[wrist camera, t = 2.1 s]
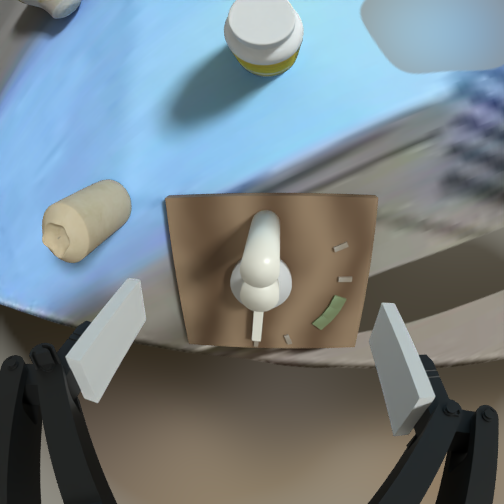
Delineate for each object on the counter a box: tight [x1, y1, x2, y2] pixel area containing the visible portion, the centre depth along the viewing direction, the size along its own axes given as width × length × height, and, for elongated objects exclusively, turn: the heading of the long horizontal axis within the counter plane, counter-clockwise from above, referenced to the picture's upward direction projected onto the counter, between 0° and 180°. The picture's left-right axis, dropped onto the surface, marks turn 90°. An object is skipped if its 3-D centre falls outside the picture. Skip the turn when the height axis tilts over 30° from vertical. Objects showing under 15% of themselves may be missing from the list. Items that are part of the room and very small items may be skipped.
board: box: [165, 193, 378, 348], centre depth 32 cm, size 20×18×1 cm
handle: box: [230, 210, 292, 341], centre depth 27 cm, size 15×6×9 cm, turn 177°
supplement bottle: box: [224, 0, 303, 77], centre depth 18 cm, size 5×5×10 cm
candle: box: [42, 180, 131, 263], centre depth 26 cm, size 6×6×10 cm
